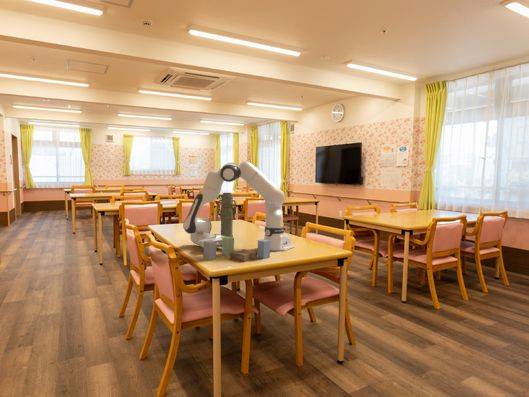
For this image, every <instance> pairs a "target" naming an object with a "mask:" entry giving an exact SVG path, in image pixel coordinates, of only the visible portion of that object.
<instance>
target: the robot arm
mask: <svg viewBox="0 0 529 397" xmlns="http://www.w3.org/2000/svg"><path fill="white" fill-rule="evenodd" d="M241 178H242V179H243V180H244V181H245V182H246V184H248V185H249V186H250V187H251V188H252V189H253V190H254V191H255V192H257V194H259V195H260V196H261V197H262V198H263V199H264V206H265V225H264V226H265V227H264V235H263V237H264V238H263V239H265V240H270V251H274V252H275V251H277V252H278V251H279V252H280V251H281V252H286V251H288V250H291V249H293V248H295V245H294V244H293V243H292V240H291V237H289V235H288V234H286V233H285V231H287V229H288V227H287V226H283V224H284V221H283V218H284V214H283V213H284V212H283V206H282V205H284V203H285V200H286V194H285V193H284V191H282V190H281V189H280V188H279V186H277V185H276V184H275V183H274V182H273V181H271V180H270V179H269V177H267V176H266V175H265V174H264V173H263V172H262V171H261V170H260V169H258V168H257V167H256V166H255V165H254V164H252V163H251V162H249V161H247V160H245V161H242V162H241V163H239V164H238V165H237V164H235V163H234V162H227V163H225V164H224V165H223V166H222V167H221V168H220V169H219V170H217V169H212V170H210V171H208V174H207V175H206V178H205V180H204V182H203V187H202V188H201V191H200V192H199V193H198V194H197V195H196V196H195V197H194V199H193V202H192V204H191V207H190V209H189V211H188V214H187V216H186V218H185V220H184V221H183V224H182V225H183V230H184V231H185V232H186V233H187V234H188V235H189V239H190V241H191V242H192V243H193V244H194V245H196V246H199V247H201V248H204V241H209V240H212V241H216V247H219V246H221V245H222V237H226V236H221V235H220V234H221V233H211V231H212V222H211V220H210V219H209V217H208V218H207V217H198V216H199V213H200V211H201V209H202V207H203V206H204V205H206V204H208V203H211V202H214V201H215V200H217V199H218V198H219V196H220V193H221V190H222V186H223V183H224V182H227V183H231V182H234V181H236V180H238V179H241Z"/></svg>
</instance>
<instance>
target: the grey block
mask: <svg viewBox="0 0 529 397" xmlns="http://www.w3.org/2000/svg"><path fill="white" fill-rule="evenodd" d="M203 259H204V260H206V261H214V260H217V246H216V241H212V240H209V241H204V247H203Z"/></svg>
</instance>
